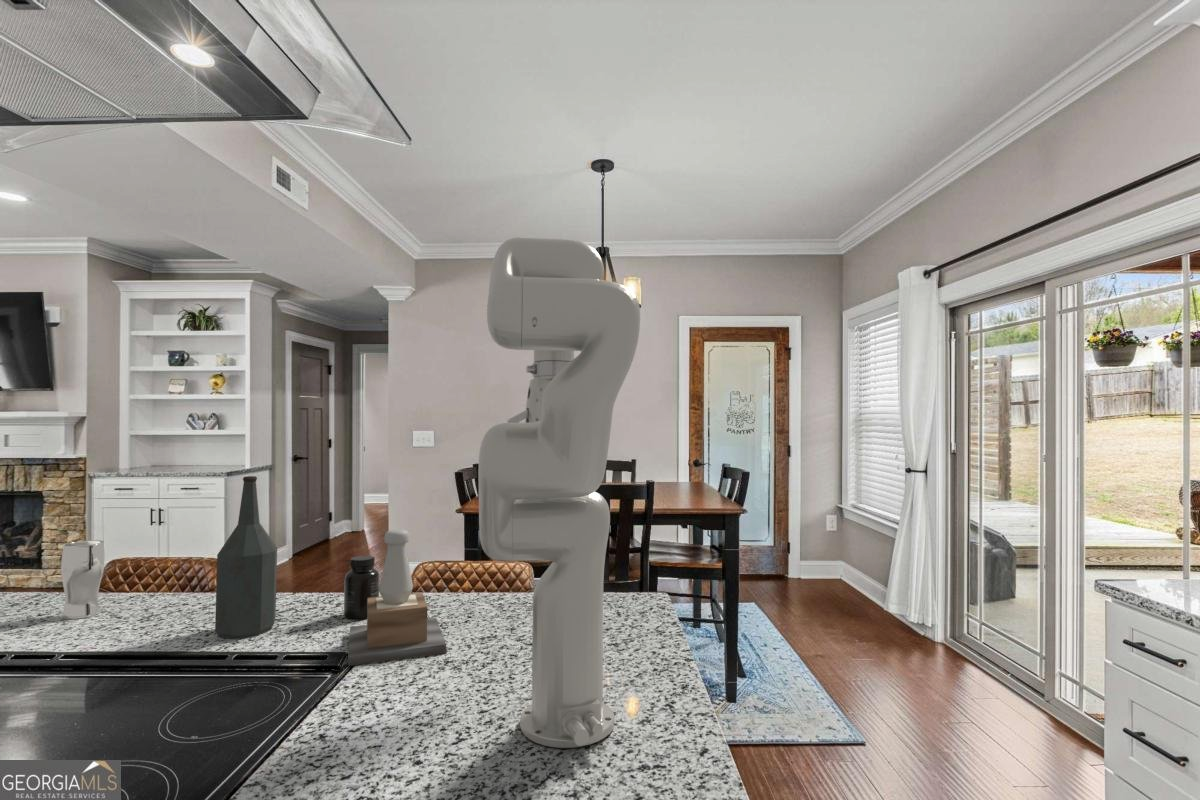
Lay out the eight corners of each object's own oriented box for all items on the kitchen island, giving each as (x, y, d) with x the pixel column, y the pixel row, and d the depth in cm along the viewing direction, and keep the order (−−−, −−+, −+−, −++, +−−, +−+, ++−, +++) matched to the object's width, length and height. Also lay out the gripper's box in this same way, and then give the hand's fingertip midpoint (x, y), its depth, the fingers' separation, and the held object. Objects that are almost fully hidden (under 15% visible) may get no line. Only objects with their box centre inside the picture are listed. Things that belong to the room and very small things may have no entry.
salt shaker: (417, 597, 114) (418, 527, 115) (405, 606, 108) (406, 533, 109) (387, 596, 115) (388, 527, 115) (373, 605, 109) (374, 532, 109)
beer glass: (50, 618, 125) (53, 545, 126) (87, 608, 132) (90, 539, 132) (74, 621, 123) (77, 547, 124) (110, 611, 130) (113, 541, 130)
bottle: (270, 635, 115) (274, 477, 117) (210, 642, 112) (215, 479, 113) (277, 619, 125) (281, 473, 126) (222, 625, 121) (226, 474, 123)
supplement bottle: (372, 608, 133) (373, 553, 133) (383, 616, 127) (384, 558, 128) (339, 614, 128) (340, 557, 129) (349, 622, 123) (351, 563, 123)
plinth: (446, 653, 107) (446, 608, 107) (347, 665, 101) (348, 619, 101) (436, 625, 122) (436, 586, 122) (349, 634, 116) (350, 594, 116)
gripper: (514, 369, 106) (513, 467, 105) (604, 372, 113) (604, 464, 112) (503, 372, 113) (502, 464, 112) (589, 376, 120) (588, 462, 119)
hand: (553, 464), depth 112 cm, fingers open, 9 cm apart
